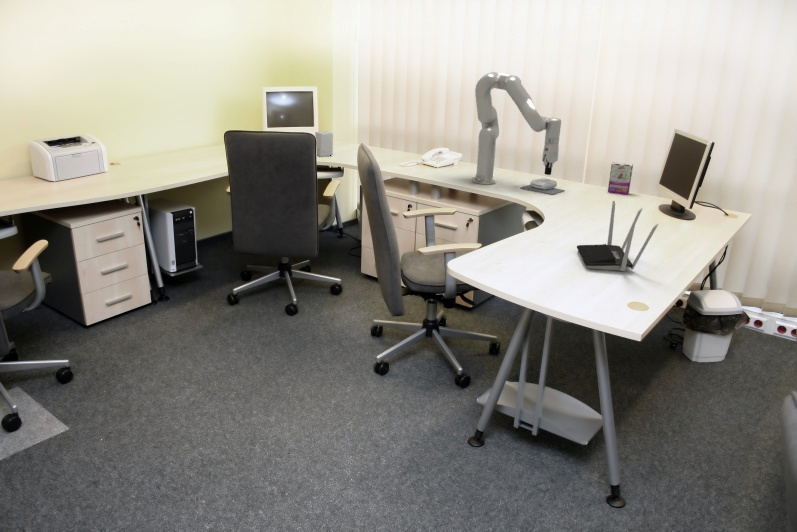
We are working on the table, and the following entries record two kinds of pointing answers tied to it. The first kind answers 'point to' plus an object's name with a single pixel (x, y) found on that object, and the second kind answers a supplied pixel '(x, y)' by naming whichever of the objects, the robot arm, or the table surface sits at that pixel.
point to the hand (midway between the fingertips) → (547, 174)
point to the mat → (547, 191)
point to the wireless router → (612, 250)
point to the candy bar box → (620, 178)
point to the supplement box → (324, 143)
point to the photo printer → (543, 183)
